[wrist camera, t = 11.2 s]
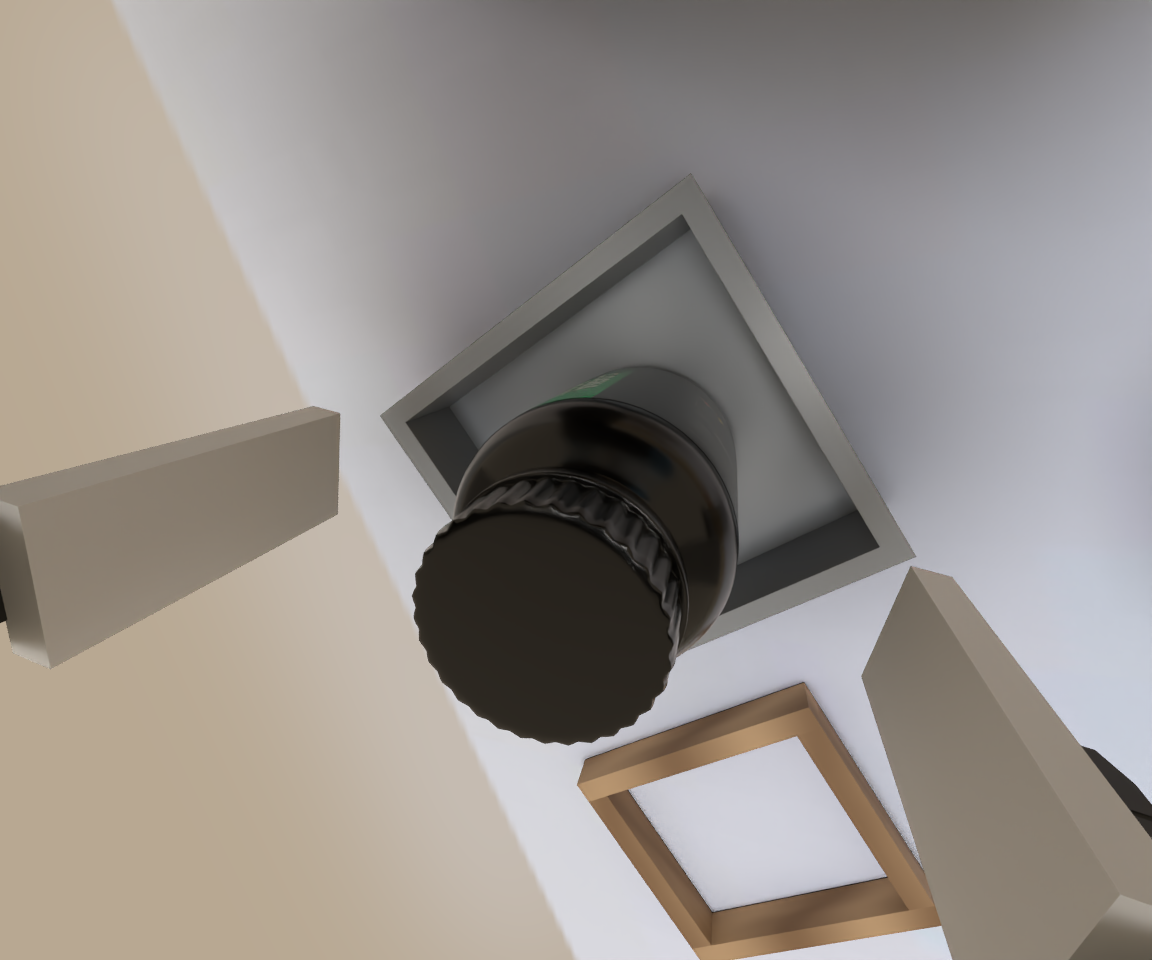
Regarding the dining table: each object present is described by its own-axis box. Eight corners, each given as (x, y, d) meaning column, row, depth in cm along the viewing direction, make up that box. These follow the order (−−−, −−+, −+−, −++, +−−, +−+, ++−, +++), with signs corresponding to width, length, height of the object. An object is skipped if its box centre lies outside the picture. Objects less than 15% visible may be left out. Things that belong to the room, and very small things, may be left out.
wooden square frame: (804, 682, 22) (808, 707, 21) (934, 888, 24) (946, 924, 22) (585, 759, 27) (576, 784, 25) (704, 931, 28) (703, 964, 26)
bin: (699, 199, 18) (691, 173, 15) (882, 509, 20) (916, 556, 16) (436, 398, 23) (380, 415, 19) (598, 637, 24) (573, 697, 21)
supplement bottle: (575, 342, 20) (380, 384, 9) (764, 394, 19) (809, 517, 8) (536, 511, 22) (344, 710, 11) (702, 566, 21) (669, 849, 10)
